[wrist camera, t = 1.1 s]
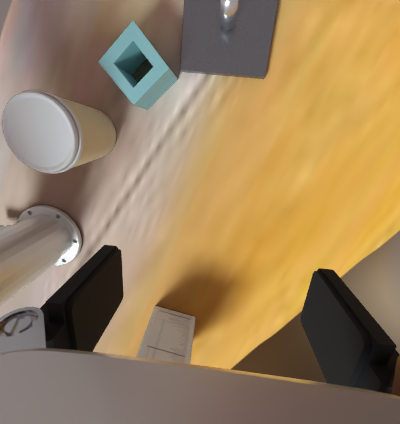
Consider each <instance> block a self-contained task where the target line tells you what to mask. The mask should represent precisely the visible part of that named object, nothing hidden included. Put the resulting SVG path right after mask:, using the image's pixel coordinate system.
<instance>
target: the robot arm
mask: <svg viewBox="0 0 400 424" xmlns="http://www.w3.org/2000/svg"><path fill="white" fill-rule="evenodd" d="M81 245H82V238H81V234H80V231H79V229H78V227H77V225H76V224H75V222H74V221H73V220H72V219H71V218H70V217H69V216H68V215H67V214H66V213H64V212H63V211H61V210H59V209H57V208H55V207H52V206H47V205H39V206H34V207H31V208H29V209H27V210H25V211H24V212H23V213H22V214H21V215H20V217H19V218H18V221H17V223H16V224H14V225H7V226H2V225H0V307H1V306H2V305H3V304H4V303H6V302H7V301H8V300H9V299H11V298H12V297H13V296H15V295H16V294H17V293H18V292H20V291H21V290H22V289H23V288H25V287H26V286H27V285H29V284H30V283H31V282H32V281H34V280H35V279H36V278H37V277H39V276H40V275H41V274H42V273H44V272H45V271H46V270H48V269H49V268H50V267H51V266H53V265H64V264H67V263H69V262H70V261H72V260H73V259H74V258H75V257H76V256H77V255H78V254H79V252H80V250H81ZM122 299H123V278H122V258H121V250H119V249H118V248H117V246H110V245H104V246H103V247H102V248H101V249H100V250H99V251H98V252H97V253H96V254H95V255H94V256H93V257H92V258H91V259H89V260H88V261H87V262H86V263H85V264H84V265H83V266H82V267H81V268H80V269H79V270H78V271H77V272H76V273H75V274H74V275H73V276H72V277H71V278H70V279H69V280H68V281H67V282H66V283H65V284H64V285H63V286H62V287H61V288H60V289H59V290H57V291H56V292H55V293H54V294H53V295H52V296H51V297H50V298H49V299H48V300H47V301H46V303H45V304H44V305H43V306H42V307H41V308H40V309H39V308H36V307H25V308H20V309H17V310H14V311H12V312H10V313H8V314H6V315H4V316H3V317H1V318H0V424H400V355H399V353H398V352H397V351H396V350H395V348H396V345H395V344H394V342H393V341H392V340H391V339H390V337H389V336H388V335H387V334H386V333H385V331H384V330H383V329H382V328H381V327H380V325H379V324H378V323H377V322H376V321H375V319H374V318H373V317H372V316H371V315H370V314H369V312H368V311H367V310H366V309H365V307H364V306H363V305H362V304H361V303H360V302H359V300H358V299H357V298H356V297H355V295H354V294H353V293H352V292H351V291H350V290H349V288H348V287H347V286H346V285H345V284H344V282H343V281H342V280H341V279H340V277H339V276H338V275H337V274H336V273H335V271H333V270H330V269H318V270H317V271H314V273H313V276H312V279H311V283H310V286H309V289H308V293H307V296H306V300H305V303H304V307H303V310H302V314H301V323H302V326H303V328H304V330H305V333H306V335H307V337H308V340H309V342H310V344H311V346H312V349H313V351H314V353H315V356H316V358H317V361H318V363H319V365H320V367H321V370H322V371H323V374H324V377H325V379H326V381H327V383H322V382H314V381H308V380H301V379H294V378H286V377H279V376H273V375H266V374H259V373H250V372H244V371H236V370H229V369H222V368H215V367H207V366H200V365H192V364H185V363H177V362H170V361H162V360H154V359H146V358H139V357H131V356H123V355H115V354H107V353H98V352H92V351H93V350H94V348H95V346H96V344H97V343H98V341H99V339H100V338H101V336H102V334H103V332H104V331H105V329H106V327H107V326H108V324H109V322H110V320H111V319H112V317H113V315H114V314H115V312H116V310H117V308H118V307H119V305H120V303H121V301H122Z"/></svg>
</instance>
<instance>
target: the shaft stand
mask: <svg viewBox="0 0 400 424" xmlns="http://www.w3.org/2000/svg"><path fill="white" fill-rule="evenodd" d="M277 5H278V0H184V15H183V33H182V50H181V68H180V70H181V72H190V73H201V74H213V75H224V76H235V77H246V78H258V79H264V78H265V75H266V69H267V63H268V57H269V51H270V45H271V40H272V34H273V28H274V22H275V16H276V10H277Z"/></svg>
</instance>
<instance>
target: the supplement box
mask: <svg viewBox="0 0 400 424" xmlns="http://www.w3.org/2000/svg"><path fill="white" fill-rule="evenodd" d="M195 320H196V317H194V316H190V315H187V314H183V313H179V312H176V311H172V310H169V309H165V308H162V307H158V306H155V307H154V310H153V313H152V315H151V318H150V321H149V323H148V326H147V329H146V332H145V334H144V337H143V340H142V343H141V345H140V348H139V351H138V354H137V357H139V358H146V359H154V360H162V361H170V362H177V363H185V364H190V361H191V351H192V343H193V336H194V328H195Z"/></svg>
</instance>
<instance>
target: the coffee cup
mask: <svg viewBox="0 0 400 424" xmlns="http://www.w3.org/2000/svg"><path fill="white" fill-rule="evenodd" d="M2 128H3V133H4V137H5V140H6V142H7V144H8V146H9V148H10V149H11V150H12V152H13V153H14V155H15V156H16V157H17V158H18V159H19V160H20V161H22V162H23V163H24V164H26V165H27V166H29V167H30V168H32V169H35V170H38V171H40V172H44V173H50V174H55V173H61V172H64V171H66V170H68V169H70V168H73V167H76V166H79V165H82V164H85V163H88V162H90V161H93V160H96V159H99V158H101V157H104V156H106V155H107V154H109V153H110V152H111V151H112V149H113V148H114V146H115V142H116V131H115V128H114V125H113V123H112V121H111V120H110V119H109V117H108V116H107V115H105V114H104V113H103V112H101V111H99V110H97V109H94V108H92V107H89V106H86V105H83V104H80V103H77V102H74V101H71V100H67V99H64V98H61V97H58V96H55V95H53V94H51V93H48V92H45V91H42V90H27V91H23V92H21V93H19V94H17V95H15V96H14V97H12V98H11V99H10V100H9V102H8V103H7V105H6V106H5V109H4V111H3V116H2Z"/></svg>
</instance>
